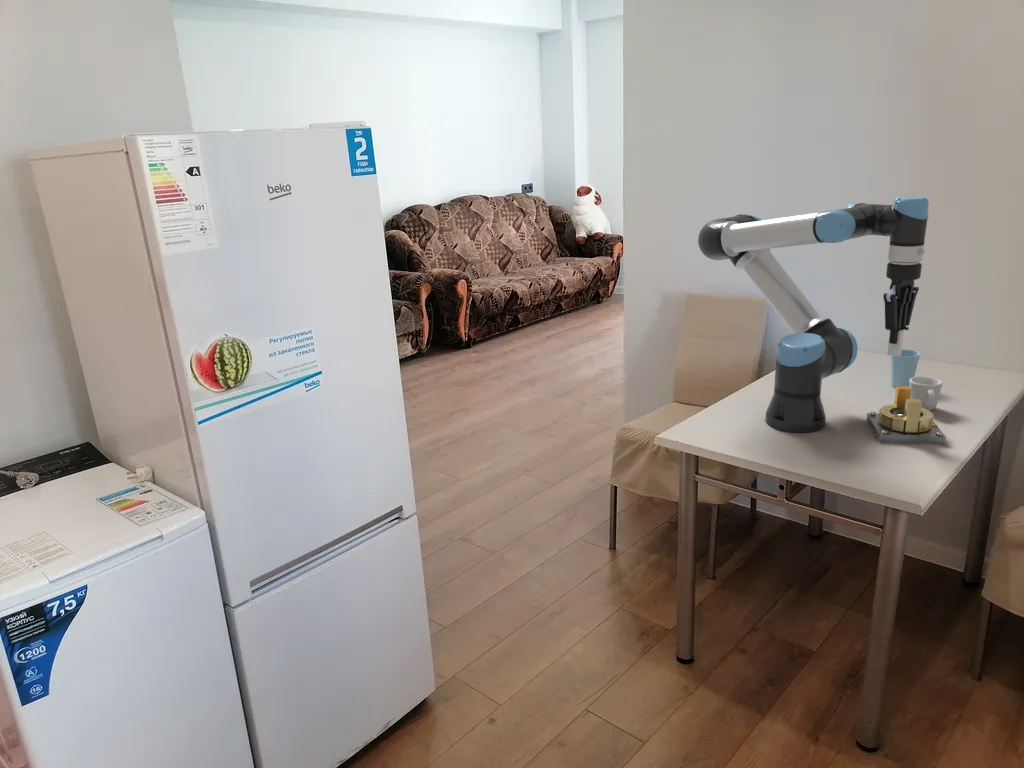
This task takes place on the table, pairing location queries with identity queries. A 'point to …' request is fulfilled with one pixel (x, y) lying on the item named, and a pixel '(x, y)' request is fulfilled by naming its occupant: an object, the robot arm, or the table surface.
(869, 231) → the robot arm
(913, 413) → the ring nut
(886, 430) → the flange
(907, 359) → the cup
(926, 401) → the cup
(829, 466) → the table surface
